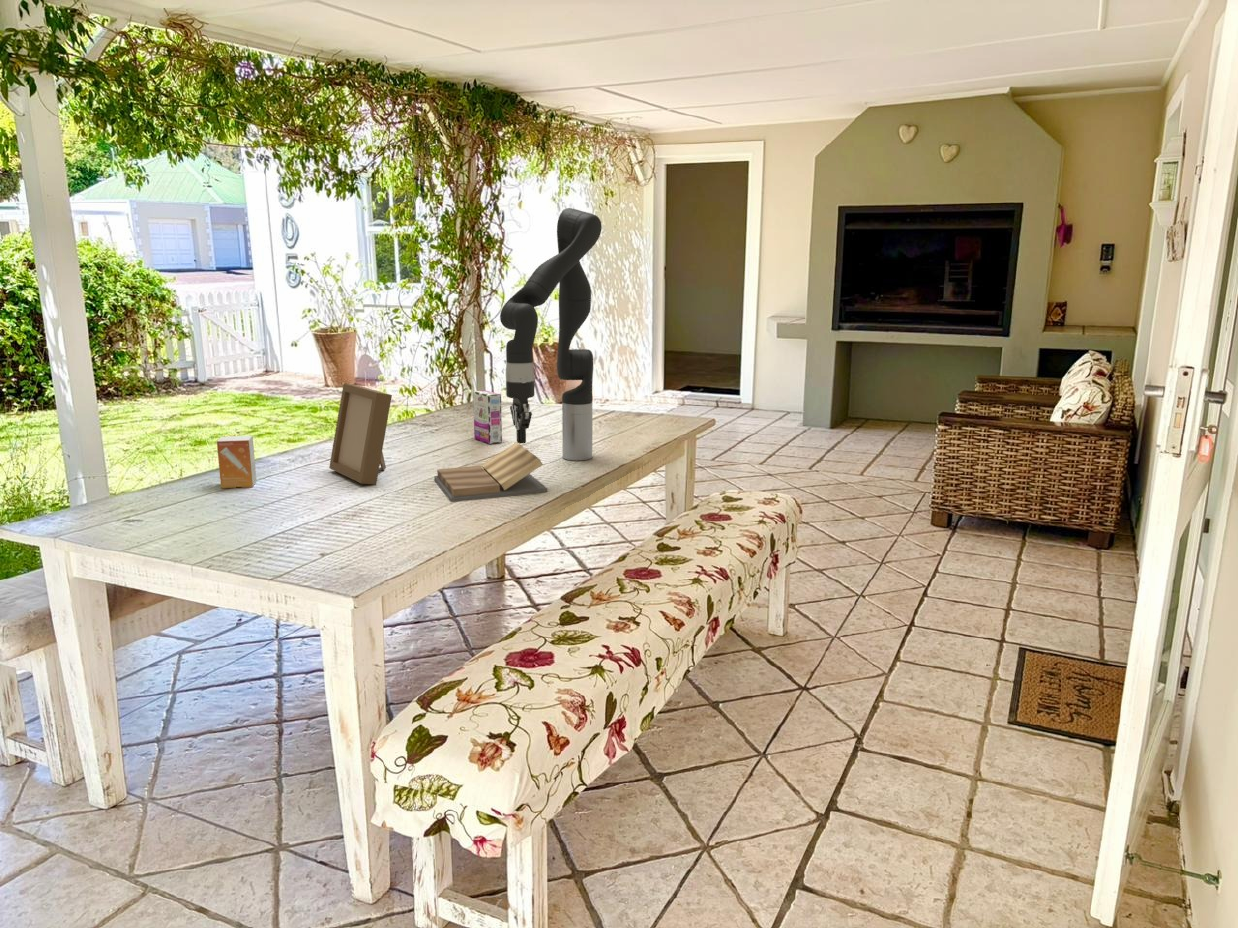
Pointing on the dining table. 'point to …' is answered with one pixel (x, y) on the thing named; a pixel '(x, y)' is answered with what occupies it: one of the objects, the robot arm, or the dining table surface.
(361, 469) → the photo frame
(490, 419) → the candy bar box
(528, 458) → the oak plank
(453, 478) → the walnut plank
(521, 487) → the underlay mat
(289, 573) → the dining table surface
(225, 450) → the small box
